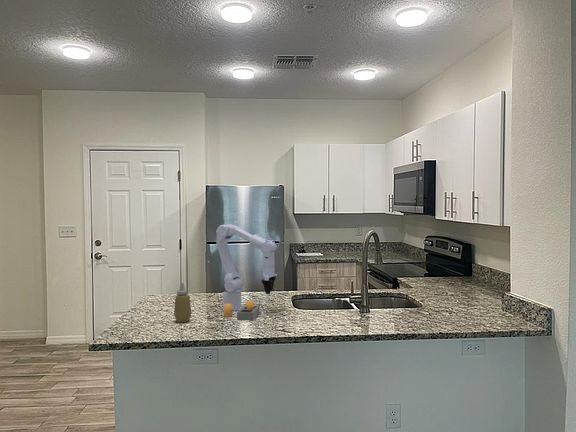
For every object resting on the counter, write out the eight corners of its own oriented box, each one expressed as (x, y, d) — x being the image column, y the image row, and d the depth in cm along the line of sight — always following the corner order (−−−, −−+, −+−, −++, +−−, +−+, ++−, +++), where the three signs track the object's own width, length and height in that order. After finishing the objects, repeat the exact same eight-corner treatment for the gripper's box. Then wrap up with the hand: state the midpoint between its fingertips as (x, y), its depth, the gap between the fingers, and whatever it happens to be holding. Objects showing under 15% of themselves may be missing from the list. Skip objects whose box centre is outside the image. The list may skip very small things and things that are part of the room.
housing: (237, 319, 215) (236, 306, 215) (244, 312, 229) (243, 299, 229) (253, 320, 214) (253, 306, 214) (259, 312, 228) (259, 299, 227)
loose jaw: (222, 317, 220) (222, 305, 220) (225, 315, 224) (224, 303, 224) (231, 317, 219) (230, 305, 219) (233, 315, 223) (232, 303, 223)
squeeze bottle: (195, 319, 217) (194, 281, 216) (185, 324, 209) (184, 284, 209) (180, 318, 220) (179, 281, 219) (170, 322, 212) (169, 284, 211)
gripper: (274, 267, 222) (274, 295, 222) (278, 263, 236) (279, 289, 236) (260, 267, 222) (260, 295, 223) (265, 263, 237) (265, 289, 237)
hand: (269, 292), depth 230 cm, fingers open, 7 cm apart
